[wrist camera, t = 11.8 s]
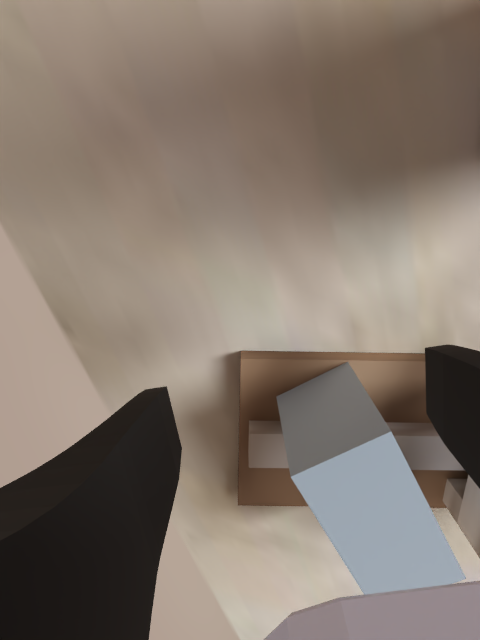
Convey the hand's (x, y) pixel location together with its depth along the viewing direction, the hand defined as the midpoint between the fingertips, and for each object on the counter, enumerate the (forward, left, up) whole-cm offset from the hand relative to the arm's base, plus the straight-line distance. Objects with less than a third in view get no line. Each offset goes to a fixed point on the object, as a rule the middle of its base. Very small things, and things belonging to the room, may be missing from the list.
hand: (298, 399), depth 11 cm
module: (-4, +7, -8) cm, 12 cm away
